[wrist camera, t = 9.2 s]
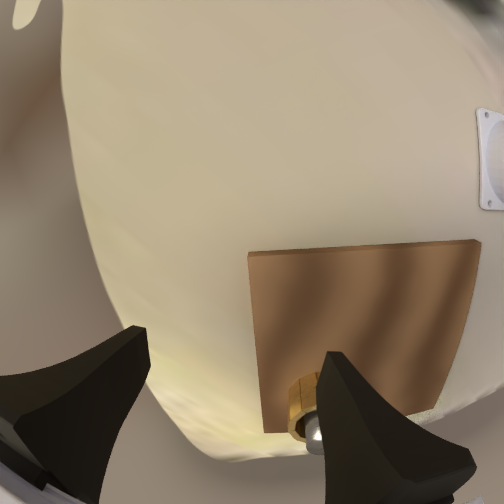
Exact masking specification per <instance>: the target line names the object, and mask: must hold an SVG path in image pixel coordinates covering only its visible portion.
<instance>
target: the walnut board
mask: <svg viewBox="0 0 504 504" xmlns="http://www.w3.org/2000/svg"><path fill="white" fill-rule="evenodd" d="M480 251H481V242H479V241H477V240H475V239H471V240H453V241H436V242H418V243H400V244H382V245H365V246H347V247H329V248H311V249H294V250H276V251H258V252H249V253H248V256H247V258H248V269H249V280H250V291H251V302H252V313H253V323H254V334H255V345H256V355H257V366H258V376H259V387H260V397H261V407H262V417H263V428H264V433H287V432H288V415H287V397H288V389H289V388H290V387H291V386H292V385H293V384H294V383H295V382H296V381H297V380H298V379H300V378H301V377H304V376H306V375H309V374H311V373H314V372H321V369H322V366H323V363H324V359H325V356H326V353H327V351H339V352H342V353H343V354H344V355H345V356H346V357H347V358H348V360H349V361H350V362H351V363H352V364H353V366H354V367H355V368H356V369H357V370H358V371H359V373H360V374H361V375H362V376H363V377H364V378H365V380H366V381H367V382H368V383H369V384H370V385H371V386H372V387H373V388H374V389H375V390H376V391H377V392H378V393H379V394H380V395H381V396H382V397H383V398H384V399H385V400H386V401H387V402H388V403H389V404H390V405H392V406H393V407H394V408H395V409H396V410H398V411H399V412H400V413H401V414H403V415H404V416H407V415H411V414H415V413H418V412H422V411H426V410H429V409H433V408H434V406H435V404H436V402H437V400H438V397H439V395H440V393H441V390H442V388H443V386H444V383H445V381H446V378H447V376H448V373H449V371H450V368H451V365H452V363H453V360H454V357H455V354H456V351H457V348H458V345H459V342H460V339H461V336H462V333H463V329H464V326H465V322H466V319H467V315H468V311H469V307H470V303H471V299H472V295H473V290H474V285H475V280H476V275H477V270H478V264H479V258H480Z"/></svg>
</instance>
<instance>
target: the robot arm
mask: <svg viewBox="0 0 504 504" xmlns="http://www.w3.org/2000/svg"><path fill="white" fill-rule="evenodd" d="M485 114H486V116H485ZM476 116H477V126H478V137H479V153H480V200H479V204H480V207H481V208H482V209H484V210H504V114H501V113H498V112H494V111H491V110H488V109H484V108H478V109H477V110H476ZM488 201H489V205H488ZM150 367H151V363H150V356H149V349H148V341H147V332H146V328H144V327H139V326H134V325H132V326H130V327H128V328H127V329H125V330H123V331H121V332H120V333H118V334H116V335H114V336H113V337H111V338H109V339H108V340H106V341H104V342H102V343H101V344H99V345H97V346H96V347H93V348H91V349H90V350H87V351H85V352H83V353H81V354H80V355H78V356H76V357H74V358H71V359H69V360H66V361H64V362H61V363H58V364H56V365H53V366H50V367H46V368H43V369H39V370H35V371H32V372H27V373H22V374H15V375H7V376H0V504H99V498H100V493H101V488H102V483H103V479H104V476H105V472H106V468H107V464H108V461H109V458H110V455H111V452H112V449H113V446H114V443H115V441H116V438H117V435H118V433H119V430H120V428H121V426H122V424H123V422H124V420H125V418H126V417H127V415H128V413H129V411H130V409H131V407H132V406H133V404H134V402H135V400H136V398H137V397H138V394H139V393H140V391H141V389H142V387H143V385H144V383H145V380H146V378H147V375H148V372H149V370H150ZM316 408H317V415H318V420H319V426H320V432H321V438H322V443H323V449H324V456H325V474H326V496H325V497H326V498H325V504H452V503H453V502H454V497H453V493H454V492H455V491H456V490H458V489H459V488H460V487H461V486H462V485H464V484H465V483H466V482H467V481H468V480H469V479H470V478H471V477H472V476H473V475H474V473H475V471H476V468H477V466H476V464H475V462H474V459H473V457H472V455H471V453H470V451H469V449H467V448H464V447H462V446H459V445H456V444H454V443H451V442H449V441H446V440H444V439H442V438H440V437H438V436H436V435H434V434H432V433H430V432H428V431H426V430H425V429H423V428H422V427H420V426H419V425H417V424H415V423H414V422H412V421H411V420H409V419H408V418H407V417H405V416H404V415H403V414H401V413H400V412H399V411H398V410H396V409H395V408H394V407H393V406H392V405H390V404H389V403H388V402H387V401H386V400H385V399H384V398H383V397H382V396H381V395H380V394H379V393H378V392H377V391H376V390H375V389H374V388H373V387H372V386H371V385H370V384H369V383H368V382H367V381H366V380H365V378H364V377H363V376H362V375H361V374H360V373H359V371H358V370H357V369H356V368H355V367H354V366H353V364H352V363H351V362H350V361H349V360H348V358H347V357H346V356H345V355H344V354H343V353H342V352H339V351H327V353H326V356H325V359H324V363H323V366H322V369H321V372H320V376H319V379H318V382H317V385H316ZM464 504H485V503H484V501H483V498H482V496H479V497H477V498H475V499H473V500H470V501H468V502H466V503H464Z"/></svg>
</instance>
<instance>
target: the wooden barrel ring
mask: <svg viewBox="0 0 504 504" xmlns="http://www.w3.org/2000/svg"><path fill="white" fill-rule="evenodd" d="M319 376H320V372H314V373H311V374H309V375H306V376H304V377H301V378H300V379H298V380H297V381H296V382H295V383H294V384H293V385H292V386H291V387H290V388H289V389H288V397H287V415H288V432H289V433H290V434H291V435H292V436H293V438H294V439H296V440H298V441H302V442H305V443H306V434H305V422H304V415H305V414H306V413H308V412H311V411H314V410H317V408H316V385H317V382H318V379H319Z"/></svg>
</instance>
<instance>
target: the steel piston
mask: <svg viewBox="0 0 504 504" xmlns="http://www.w3.org/2000/svg"><path fill="white" fill-rule="evenodd" d="M304 422H305V434H306V448H307V450H308V452H310V453H312V454H315V455H324V449H323V443H322V438H321V432H320V426H319V420H318V415H317V410H314V411H311V412H308V413H306V414H305V415H304Z"/></svg>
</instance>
